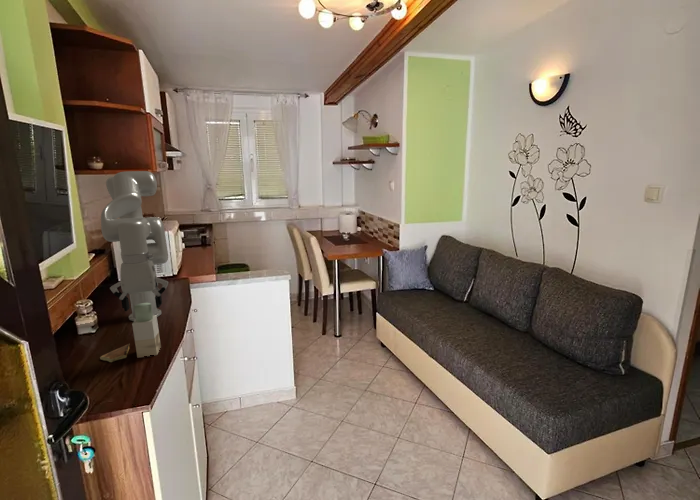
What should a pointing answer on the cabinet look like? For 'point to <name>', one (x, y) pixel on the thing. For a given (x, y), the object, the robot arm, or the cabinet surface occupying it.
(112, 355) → the shard
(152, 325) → the tower top
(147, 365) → the cabinet surface
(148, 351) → the tower base
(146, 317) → the green cylinder
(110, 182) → the robot arm
